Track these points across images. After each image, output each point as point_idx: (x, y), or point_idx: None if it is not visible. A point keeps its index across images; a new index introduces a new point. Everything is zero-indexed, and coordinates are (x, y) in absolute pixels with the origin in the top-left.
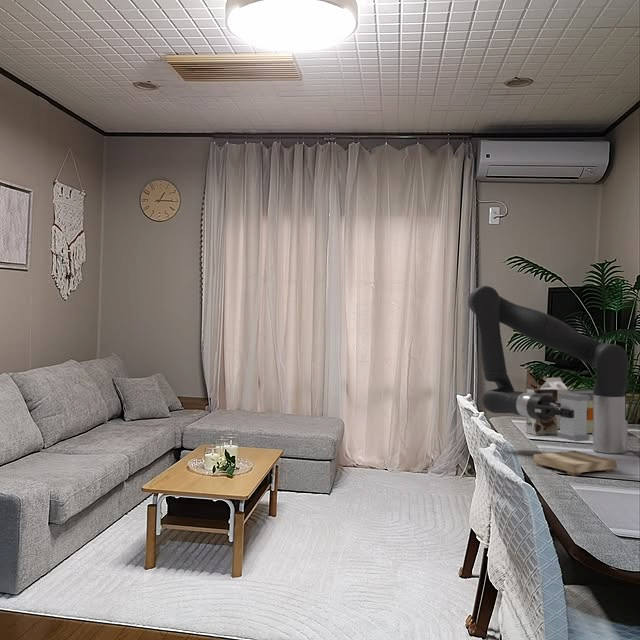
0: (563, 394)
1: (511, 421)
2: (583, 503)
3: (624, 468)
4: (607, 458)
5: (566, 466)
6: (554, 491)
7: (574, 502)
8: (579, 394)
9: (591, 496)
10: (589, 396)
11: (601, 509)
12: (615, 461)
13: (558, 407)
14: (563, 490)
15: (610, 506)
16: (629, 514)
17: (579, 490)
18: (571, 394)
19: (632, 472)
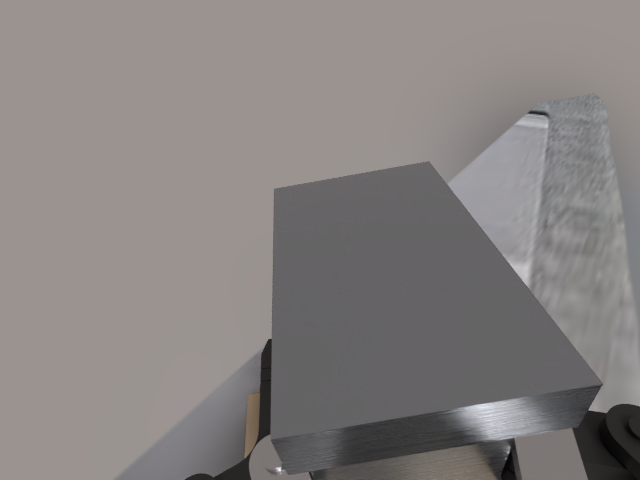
0: (522, 284)
1: None
2: (546, 189)
3: (182, 458)
4: (254, 433)
5: None
6: (594, 251)
7: (564, 194)
8: (281, 268)
9: (509, 217)
10: (280, 192)
11: (524, 169)
12: (255, 396)
13: (541, 459)
14: (565, 255)
15: (499, 177)
16: (487, 155)
17: (519, 251)
18: (397, 268)
19: (222, 389)
